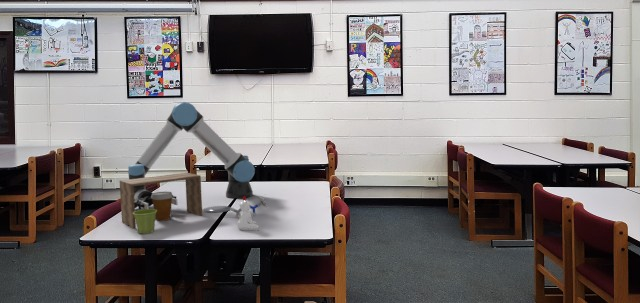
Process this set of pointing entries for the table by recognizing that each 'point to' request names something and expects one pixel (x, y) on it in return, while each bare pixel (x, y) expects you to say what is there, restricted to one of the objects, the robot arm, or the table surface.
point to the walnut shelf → (191, 182)
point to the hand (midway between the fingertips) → (162, 204)
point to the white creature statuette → (246, 218)
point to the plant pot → (145, 220)
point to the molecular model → (250, 207)
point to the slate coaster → (216, 209)
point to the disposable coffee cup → (162, 205)
